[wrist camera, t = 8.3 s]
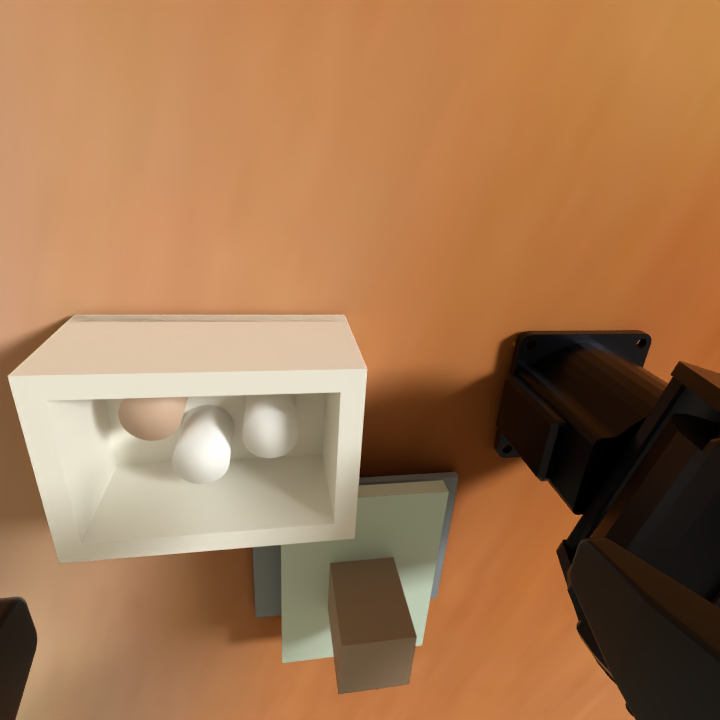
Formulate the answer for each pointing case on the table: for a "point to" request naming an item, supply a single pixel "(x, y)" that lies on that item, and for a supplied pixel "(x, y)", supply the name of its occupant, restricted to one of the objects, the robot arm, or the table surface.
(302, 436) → the caddy
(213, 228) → the table surface
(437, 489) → the lid
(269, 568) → the mat
